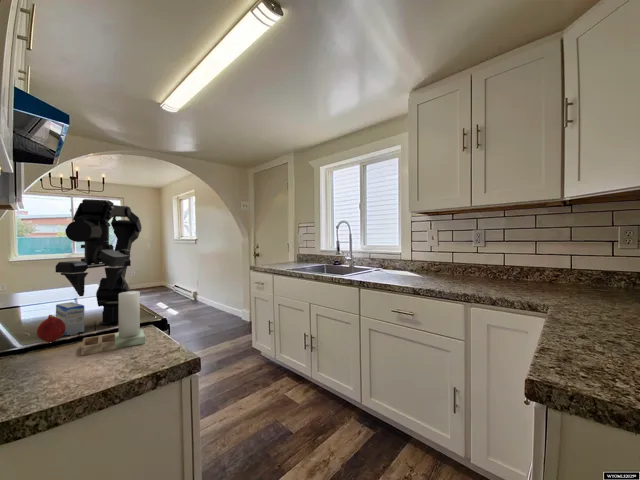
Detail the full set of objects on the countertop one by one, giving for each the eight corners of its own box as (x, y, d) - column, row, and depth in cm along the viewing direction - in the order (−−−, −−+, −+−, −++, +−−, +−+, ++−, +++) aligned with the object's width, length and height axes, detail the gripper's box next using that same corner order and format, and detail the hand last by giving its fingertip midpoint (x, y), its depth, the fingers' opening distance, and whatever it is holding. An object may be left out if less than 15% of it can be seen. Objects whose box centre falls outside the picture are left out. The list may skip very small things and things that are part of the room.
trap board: (81, 355, 69) (81, 347, 69) (83, 345, 75) (83, 338, 75) (145, 343, 77) (145, 336, 77) (142, 334, 84) (142, 328, 84)
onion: (69, 337, 81) (69, 311, 80) (59, 345, 75) (58, 316, 75) (44, 340, 79) (44, 312, 78) (31, 348, 73) (31, 318, 73)
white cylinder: (121, 332, 80) (121, 291, 80) (141, 330, 82) (141, 290, 82) (116, 338, 75) (115, 295, 75) (137, 336, 77) (137, 293, 77)
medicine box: (55, 332, 85) (55, 304, 85) (73, 327, 89) (73, 301, 89) (66, 336, 82) (66, 307, 81) (84, 332, 86) (84, 304, 85)
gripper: (88, 242, 72) (88, 301, 72) (145, 241, 90) (145, 288, 90) (53, 241, 73) (53, 299, 74) (116, 240, 92) (115, 286, 92)
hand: (97, 292), depth 82 cm, fingers open, 9 cm apart
